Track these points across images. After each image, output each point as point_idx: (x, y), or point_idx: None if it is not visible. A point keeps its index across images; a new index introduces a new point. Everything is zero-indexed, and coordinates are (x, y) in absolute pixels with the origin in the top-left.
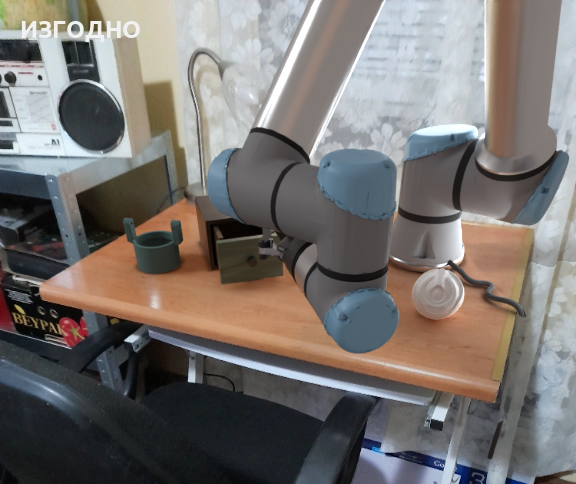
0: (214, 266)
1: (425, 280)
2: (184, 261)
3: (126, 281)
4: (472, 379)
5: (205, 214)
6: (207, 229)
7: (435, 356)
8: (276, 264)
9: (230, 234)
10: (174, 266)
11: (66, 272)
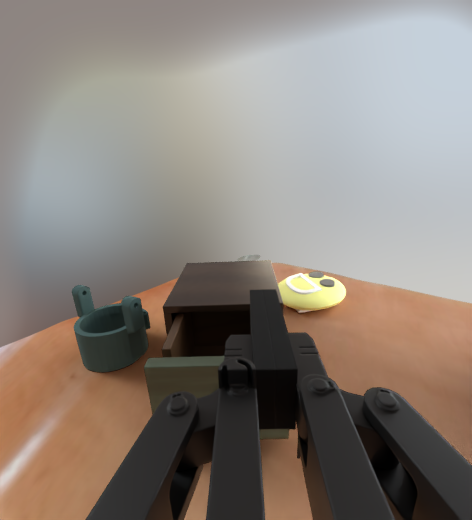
0: None
1: None
2: (151, 351)
3: (43, 381)
4: None
5: (174, 293)
6: (166, 319)
7: None
8: None
9: (215, 324)
10: (125, 362)
11: (5, 345)
